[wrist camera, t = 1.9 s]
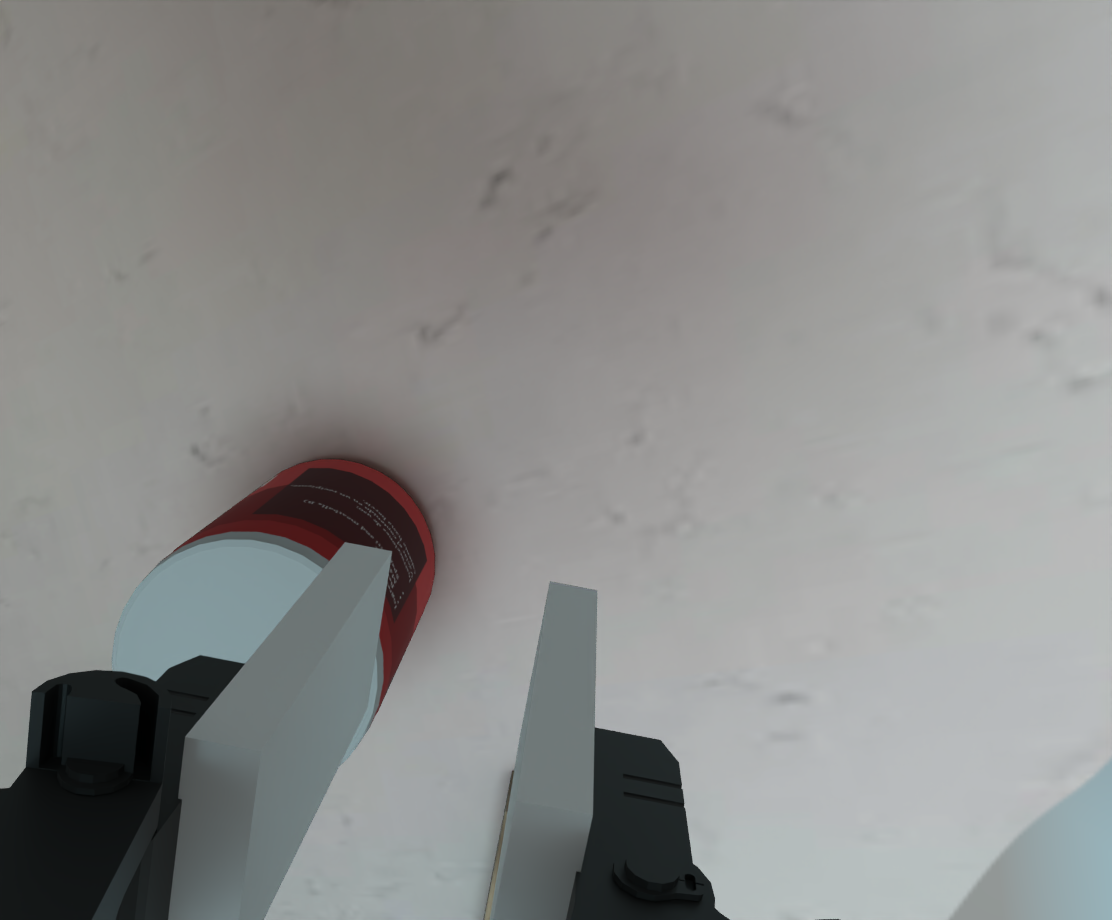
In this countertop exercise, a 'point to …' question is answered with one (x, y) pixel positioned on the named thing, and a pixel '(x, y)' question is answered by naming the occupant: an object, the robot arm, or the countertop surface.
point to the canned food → (280, 573)
